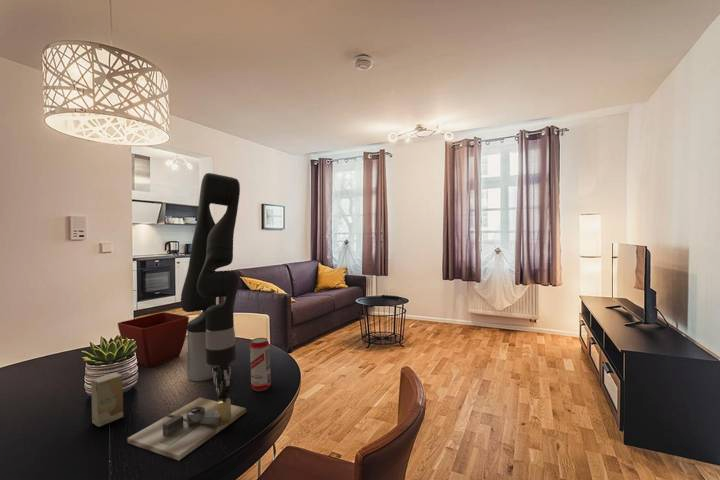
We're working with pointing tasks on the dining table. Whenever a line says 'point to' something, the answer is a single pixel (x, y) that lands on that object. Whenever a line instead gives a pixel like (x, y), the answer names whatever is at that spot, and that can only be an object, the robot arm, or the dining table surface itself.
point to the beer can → (260, 364)
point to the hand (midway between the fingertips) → (222, 406)
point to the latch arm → (211, 414)
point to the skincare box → (107, 399)
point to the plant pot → (156, 336)
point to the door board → (181, 431)
